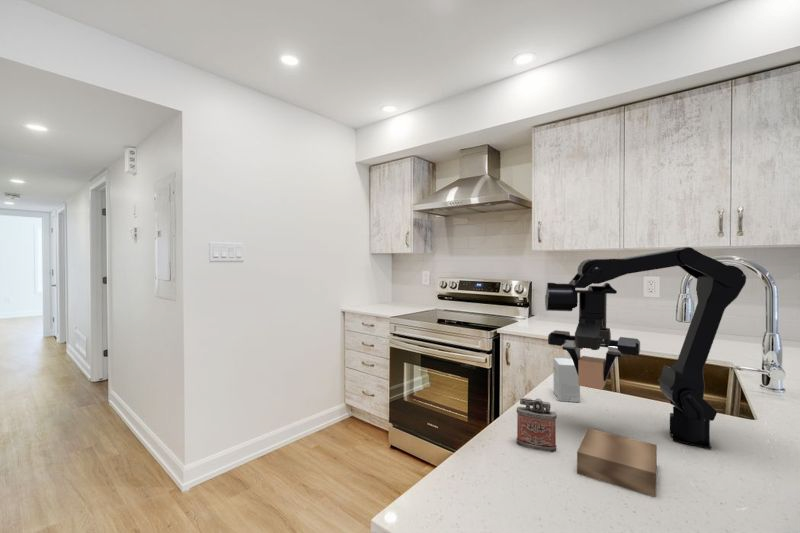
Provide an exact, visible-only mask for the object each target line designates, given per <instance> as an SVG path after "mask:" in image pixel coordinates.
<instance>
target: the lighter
mask: <svg viewBox="0 0 800 533" xmlns="http://www.w3.org/2000/svg"><path fill="white" fill-rule="evenodd" d="M519 404H520V405H521V406H517V407H516V413H517V414H516V415H517V416H516V417H517V421H516V422H517V424H516V425H517V426H516V427H517V430H516V431H517V432H516V433H517V434H516V438H515V440H516V445H518V446H520V447H523V448H526V449H531V450H536V451H540V452H548V453H549V452H550V453H554V452H555V453H556V451H557V444H556V442H557V441H556V432H557V428H556V426H557V425H556V424H557V423H556V422H557V421H556V420H557V416H558V414H557V412H555V411H551V402H549V401H543V400H542V398H538V397H537V398H535V399H532V398H529V397H523V396H522V397H520V398H519ZM522 405H523V406H522Z"/></svg>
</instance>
